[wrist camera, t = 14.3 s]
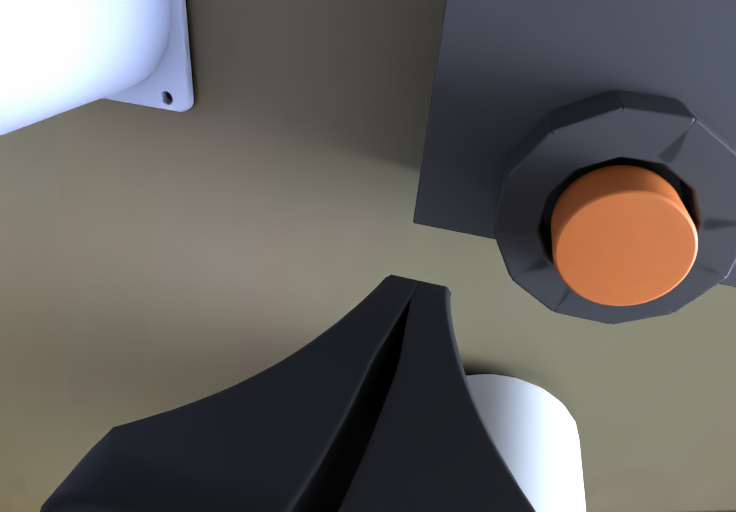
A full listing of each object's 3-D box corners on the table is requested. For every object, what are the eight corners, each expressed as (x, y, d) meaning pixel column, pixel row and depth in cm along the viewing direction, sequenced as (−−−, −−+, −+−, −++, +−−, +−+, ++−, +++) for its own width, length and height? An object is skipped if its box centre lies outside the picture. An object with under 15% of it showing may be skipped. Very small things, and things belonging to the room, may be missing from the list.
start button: (537, 258, 16) (538, 292, 14) (569, 153, 14) (573, 178, 12) (655, 282, 15) (668, 319, 14) (702, 176, 13) (723, 205, 12)
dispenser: (428, 200, 22) (397, 279, 17) (470, -61, 17) (444, -60, 12) (724, 256, 20) (788, 364, 15) (865, -20, 15) (1031, 2, 10)
